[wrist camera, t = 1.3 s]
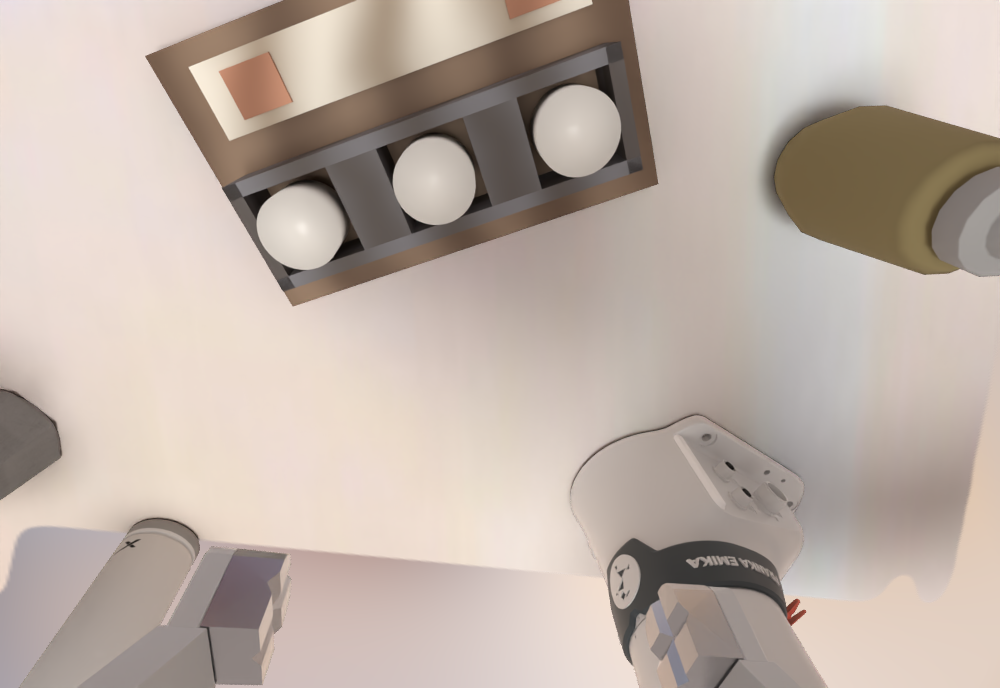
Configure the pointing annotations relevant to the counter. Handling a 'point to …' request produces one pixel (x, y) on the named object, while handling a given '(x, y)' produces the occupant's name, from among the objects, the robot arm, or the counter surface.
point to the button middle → (435, 179)
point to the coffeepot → (24, 442)
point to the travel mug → (119, 604)
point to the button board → (404, 115)
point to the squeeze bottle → (897, 189)
